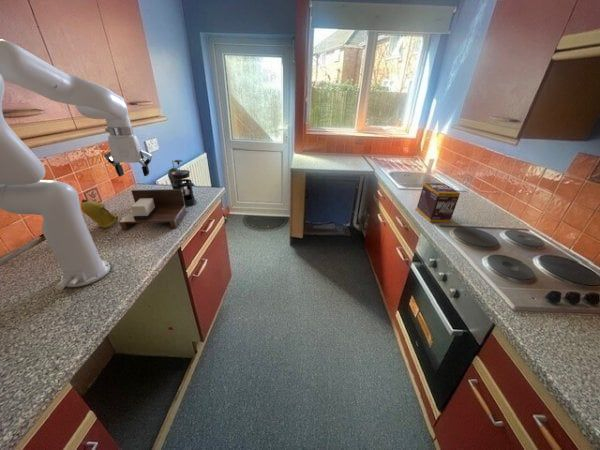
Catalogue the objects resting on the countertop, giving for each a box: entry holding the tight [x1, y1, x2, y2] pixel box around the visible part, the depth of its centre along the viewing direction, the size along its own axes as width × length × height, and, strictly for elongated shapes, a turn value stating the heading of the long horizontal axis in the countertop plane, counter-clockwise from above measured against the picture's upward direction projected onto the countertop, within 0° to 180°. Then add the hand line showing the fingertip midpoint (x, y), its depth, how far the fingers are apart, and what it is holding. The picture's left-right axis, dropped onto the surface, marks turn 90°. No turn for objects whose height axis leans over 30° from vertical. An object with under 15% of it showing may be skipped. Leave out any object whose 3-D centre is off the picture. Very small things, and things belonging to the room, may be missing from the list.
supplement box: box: [416, 182, 461, 223], centre depth 125 cm, size 10×15×16 cm
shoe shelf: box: [119, 188, 187, 231], centre depth 112 cm, size 17×22×12 cm
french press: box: [171, 159, 197, 207], centre depth 127 cm, size 12×9×23 cm
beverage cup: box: [167, 160, 183, 190], centre depth 138 cm, size 7×7×20 cm
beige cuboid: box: [130, 198, 158, 220], centre depth 111 cm, size 12×5×6 cm, turn 7°
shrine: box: [80, 199, 119, 229], centre depth 105 cm, size 12×8×15 cm
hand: (134, 175), depth 103 cm, fingers open, 9 cm apart
